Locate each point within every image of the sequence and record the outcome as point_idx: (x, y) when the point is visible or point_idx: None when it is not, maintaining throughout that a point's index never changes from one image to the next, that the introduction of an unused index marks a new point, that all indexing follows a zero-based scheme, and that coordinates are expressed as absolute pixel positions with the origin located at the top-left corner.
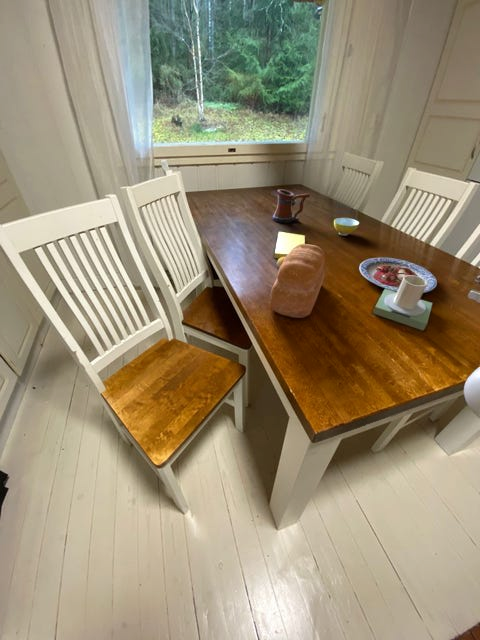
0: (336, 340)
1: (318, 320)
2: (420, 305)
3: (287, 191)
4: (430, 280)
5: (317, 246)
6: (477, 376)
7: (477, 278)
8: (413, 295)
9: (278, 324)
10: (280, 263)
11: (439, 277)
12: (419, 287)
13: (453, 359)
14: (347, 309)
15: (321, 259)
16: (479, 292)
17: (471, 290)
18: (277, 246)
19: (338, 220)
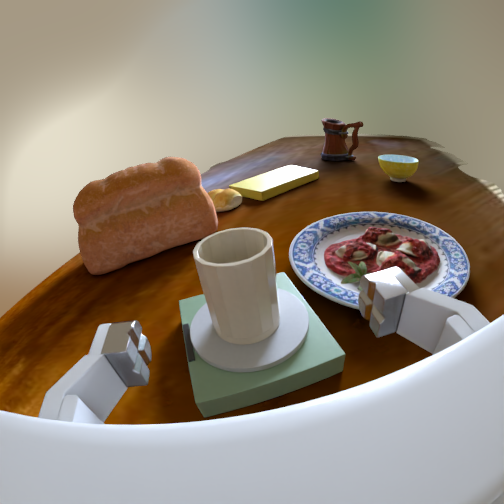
0: (64, 323)
1: (101, 287)
2: (279, 345)
3: (339, 121)
4: (448, 284)
5: (177, 159)
6: None
7: (360, 280)
8: (207, 294)
9: (72, 272)
10: None
11: (493, 285)
12: (202, 267)
13: None
14: (163, 290)
15: (144, 177)
16: (111, 351)
17: (125, 322)
18: (250, 178)
19: (393, 158)
